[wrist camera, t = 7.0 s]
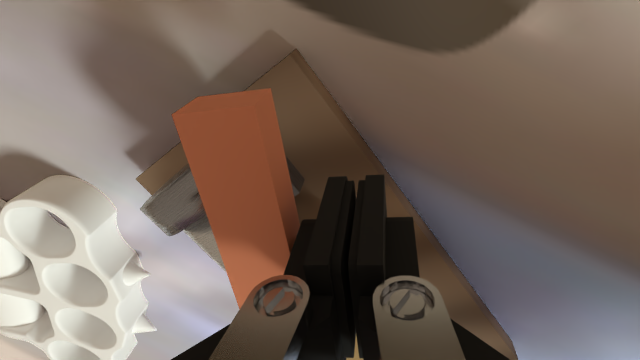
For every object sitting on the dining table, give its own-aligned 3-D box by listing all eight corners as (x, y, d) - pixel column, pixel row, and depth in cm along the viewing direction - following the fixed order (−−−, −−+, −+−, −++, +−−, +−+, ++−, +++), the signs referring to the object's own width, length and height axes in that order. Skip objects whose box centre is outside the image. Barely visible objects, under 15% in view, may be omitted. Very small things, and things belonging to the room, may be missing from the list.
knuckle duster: (-49, 147, 26) (157, 190, 25) (19, 323, 34) (172, 359, 34) (-105, 170, 23) (127, 219, 22) (-15, 356, 32) (152, 396, 31)
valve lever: (286, 86, 9) (271, 103, 8) (354, 435, 16) (352, 471, 15) (183, 98, 10) (156, 116, 9) (292, 430, 17) (285, 466, 16)
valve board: (511, 341, 26) (518, 360, 25) (367, 386, 31) (366, 404, 30) (296, 48, 19) (290, 54, 17) (149, 167, 23) (135, 178, 22)
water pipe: (468, 364, 26) (501, 517, 18) (392, 387, 28) (396, 531, 21) (257, 107, 19) (180, 192, 12) (180, 166, 21) (77, 267, 14)
